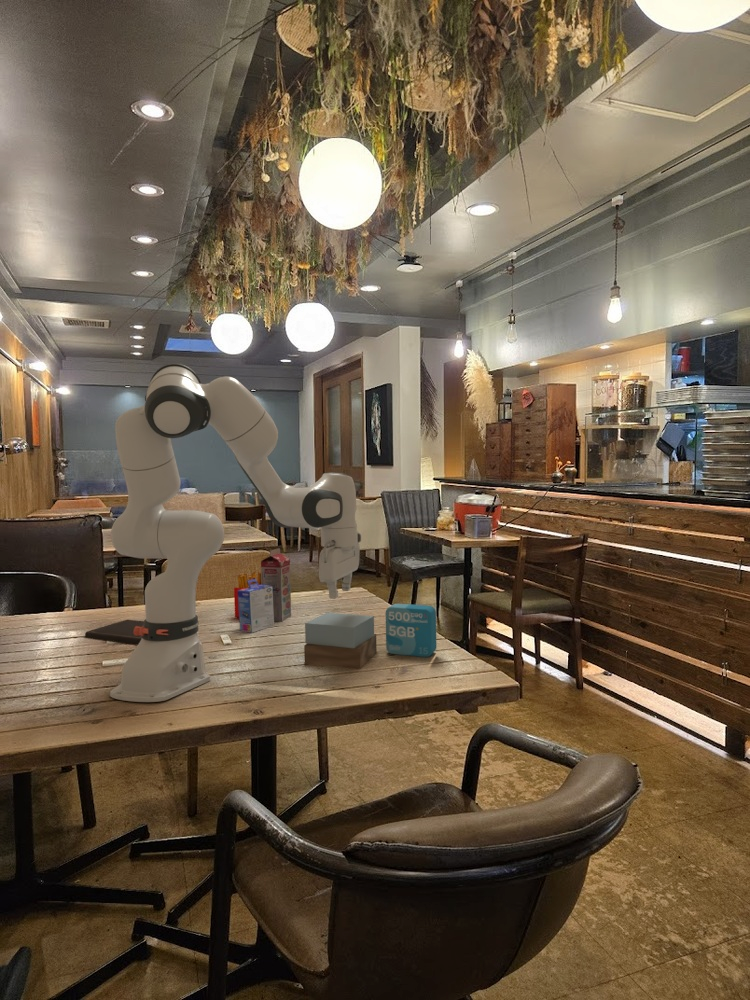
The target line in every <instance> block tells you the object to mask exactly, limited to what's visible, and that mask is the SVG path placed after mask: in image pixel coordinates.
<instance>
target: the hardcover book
mask: <svg viewBox="0 0 750 1000" xmlns="http://www.w3.org/2000/svg"><path fill="white" fill-rule="evenodd" d="M143 624H144V620H143V621H142V620H135V619H134V620H133V619H125V620H122V621H118V622H113V623H111V624H108V625H105V626H100V627H98V628H94V629H90V630H87V631H85V633H84V637H85V638H87V639H92V638H93V640H99V641H100V640H101V641H106V642H108V641H109V642H114V643H122V644H127V645H133V646H134V645H136V646H137V645H138V644H139V642H140V641H141V639H142V638H141V635H135V634H134V633H135V632H133V631H134V629H135V627H136V626H139V627H143Z"/></svg>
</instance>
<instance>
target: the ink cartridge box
mask: <svg viewBox="0 0 750 1000" xmlns="http://www.w3.org/2000/svg"><path fill="white" fill-rule="evenodd" d="M247 582H248V587H249V588H246V589H242V590H238V606H239V619H238V620H239V623H238V624H239V631H240V632H243V633H248V634H251V633H256V632H259V631H262V630H264V629H268V628H271V627H274V626H275V621H274V612H273V590H272V586H268V585H258V583H257V578H256V579H252V580H249V579H247ZM251 582H256V584H252V585H250V583H251Z"/></svg>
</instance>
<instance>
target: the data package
mask: <svg viewBox="0 0 750 1000" xmlns="http://www.w3.org/2000/svg"><path fill="white" fill-rule="evenodd" d="M385 648H386V651H387V653H389V654H391V655H399V656H410V657H420V658H429V657H431V655H432V654H434V652H435V651H437V610H436V608H435V606H432V605H424V604H410V603H394V604H392V605H390V606H389V607H387V609H386V610H385Z"/></svg>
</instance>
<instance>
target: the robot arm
mask: <svg viewBox="0 0 750 1000" xmlns="http://www.w3.org/2000/svg"><path fill="white" fill-rule="evenodd" d="M201 382H202V381H201V380H200V377H199V376H198V375H197V373H196V372H195V371H194V370H193V369H192V368H190V367H189V366H187V365H185V364H182V363H176V362H175V363H174V362H173V363H167V364H165V365H163V366H161V367H159V368H158V369H157V370H156V371H155V372H154V374H153V375H152V377H151V379H150V382H149V384H148V386H147V390H146V394H145V397H144V401H145V403H144V405H142V406H140V407H135V408H131V409H129V410H126V411H124V412H123V413H121V414H120V415H119V416H118V418H117V419H116V421H115V425H114V426H115V429H114V430H115V432H114V433H115V440H116V441H115V442H116V448H117V453H118V458H119V461H120V466H121V469H122V472H123V476H124V479H125V480H124V481H125V484H126V490H127V497H128V498H127V505H126V507H125V509H124V510H123V512H122V513H121V514H120V515H119V516H118V517H117V518H116V519H115V520H114V522H113V524H112V526H111V529H110V540H111V544H112V546H113V548H114V549H115V551H116V552H117V553H118V554H119V555H122V556H127V557H130V558H136V559H167V564H166V565H167V566H166V569H165V571H163V572H162V573H160V574H157V575H156V576H154V577H153V578H152V579H150V581H148V583H147V585H146V586H145V588H144V589H145V590H144V606H145V608H144V610H145V619H144V620H143V621H144V624H143V627H139V626H136V627H135V629H134V631H133V632H135V633H134V634H135V635H141V638H142V639H141V641H140V642H139V644H138V645H136V647H135V648H134V650H132V651H133V652H131V654H130V656H128V658H127V660H126V661H125V662H124V664H123V665H122V668H121V682H120V683H119V684H118V685H117V686H115V687H114V688H113V689H111V690H110V691H109V696H110V697H111V698H112V699H114V700H115V699H116V700H119V701H127V702H137V703H155V702H157V703H158V702H164V701H167V700H169V699H171V698H174V697H177V696H179V695H181V694H183V693H185V692H188V691H190V690H192V689H195V688H196V687H199V686H201V685H203V684H205V683H209V682H210V681H211V676H210V674H208V673H207V671H206V669H207V668H206V662H205V661H206V660H205V655H204V654H205V653H204V646H203V644H202V642H201V640H200V638H199V636H198V631H199V616H198V615H197V612H196V600H197V599H196V593H197V583H198V579H199V576H200V574H201V571H202V569H203V567H204V566H205V564H206V563H207V562H208V561H209V560H210V559H211V558H212V557H213V556H214V555H216V553H218V552H219V551H220V549H221V547H222V546H223V543H224V540H225V528H224V525H223V522H222V521H221V519H220V518H219V517H218V515H216V514H215V513H211V512H207V511H201V510H197V509H195V510H194V509H192V510H191V509H190V510H188V509H187V510H186V509H185V510H181V509H179V510H174V509H173V510H169V509H166V508H165V507H164V504H165V503H168V502H169V501H171V500H172V499H173V498H174V497H175V496H176V495H177V494H178V493H179V491H180V488H181V485H182V484H181V482H182V480H181V477H180V473H179V468H178V464H177V460H176V457H175V452H174V449H173V444H172V440H171V439H179V438H183V437H185V436H188V435H190V434H192V433H194V432H196V431H201V430H203V429H205V428H206V427H208V425H210V426H211V427H212V428H213V429H214V430H215V431H216V433H217V434H218V435H219V436H220V438H222V440H223V441H224V442H225V444H226V445H227V446H228V447H229V448H230V450H231V451H232V452H233V454H234V455H235V459H236V461H237V463H238V465H239V466H240V468H241V470H242V471H243V473H244V474H245V476H246V477H247V479H248V480H249V482H250V484H251V485H252V486H253V487H254V489H255V490H256V492H257V493H258V495H259V496H260V498H261V499H262V501H263V504H264V507H265V510H266V513H267V516H268V518H269V519H270V521H271V522H272V523H273V524H274V525H275V526H277V527H279V528H286V529H287V528H300V529H301V528H303V529H318V528H319V529H320V541H321V542H320V546H321V547H323V548H322V549H321V550H320V552H319V557H318V579H319V581H320V582H321V583H326V586H327V590H328V597H329V599H330V600H331V599H333V600H335V599H337V598H338V597H339V590H338V589H337V584H338V580H341V579H342V578H343V580H342V583H341V588H342V589H341V590H342V591H343V592H349V591H350V590H351V582H352V577H353V572H355V571H357V570H358V568H359V565H360V552H361V551H360V547H361V546H360V543H361V542H362V534H361V533H360V532H358V526H357V522H356V521H357V520H356V513H357V512H356V511H357V493H356V486H355V485H356V484H355V482H354V479H353V477H352V476H351V475H349V474H346V473H343V472H332V471H331V472H330V471H329V472H325V473H323V474H322V475H321V477H320V478H319V479H318V480H317V481H316V482H314V483H312V484H311V485H308V486H307V487H301V486H299V487H298V486H297V487H296V486H293V485H289V484H286V483H285V482H283V480H282V479H281V478H280V476H279V475H278V473H277V471H276V470H275V468H274V467H273V466H272V464H271V462H270V461H269V458H268V457H269V455H270V454H271V453H272V452H273V451H274V449H275V448H276V447H277V444H278V439H279V430H278V428H277V426H276V424H275V421H274V419H273V418H272V416H271V415H270V414H269V412H267V410H266V409H265V407H264V406H263V405H262V404H261V403H260V401H259V400H258V399H257V398H256V396H255V395H253V393H252V392H250V390H249V389H248V388H247V387H246V386H244V385H243V384H242V383H241V382H240V381H239V380H238V379H236V378H234V377H232V376H227V375H226V376H220V377H218V378H215V379H213V380H212V381H210V382H209V383H208V382H207V383H201Z"/></svg>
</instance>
